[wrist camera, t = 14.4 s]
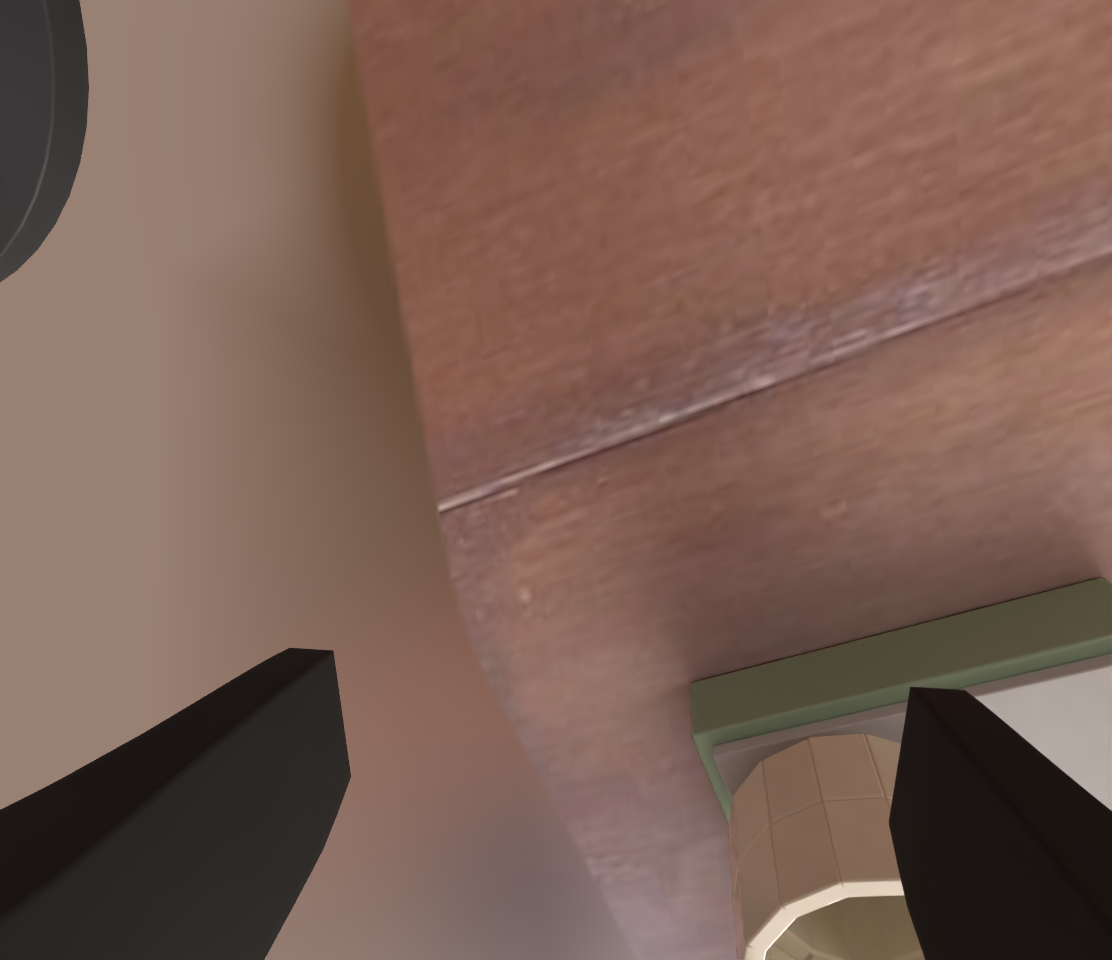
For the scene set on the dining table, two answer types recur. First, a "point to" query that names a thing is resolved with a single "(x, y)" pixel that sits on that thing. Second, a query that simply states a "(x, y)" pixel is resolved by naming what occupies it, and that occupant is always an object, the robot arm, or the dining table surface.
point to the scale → (933, 662)
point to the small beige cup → (819, 855)
